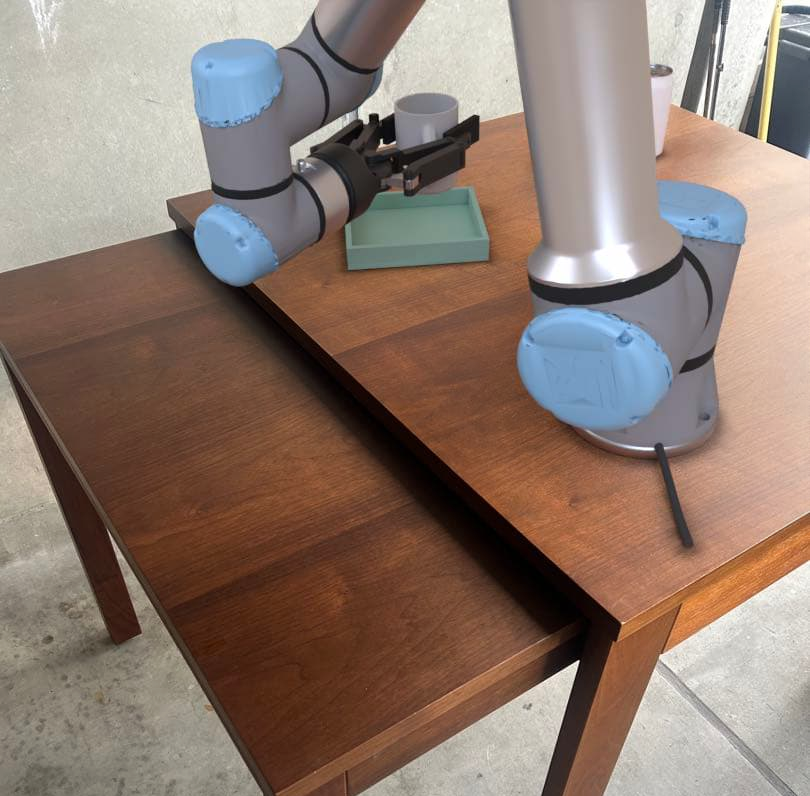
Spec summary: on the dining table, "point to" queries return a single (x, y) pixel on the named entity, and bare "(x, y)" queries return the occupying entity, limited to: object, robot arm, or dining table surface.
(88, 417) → the dining table surface
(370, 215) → the tray
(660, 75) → the can
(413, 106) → the cup
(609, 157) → the robot arm
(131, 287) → the dining table surface
